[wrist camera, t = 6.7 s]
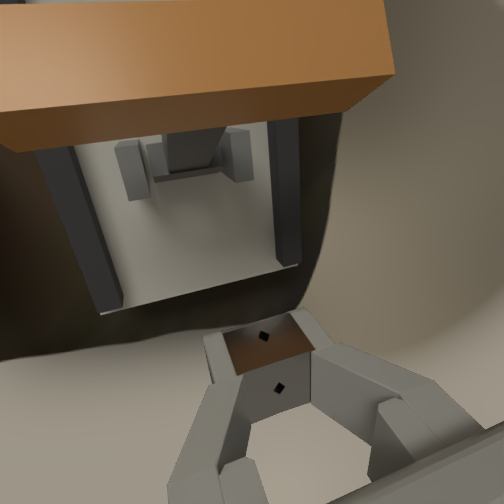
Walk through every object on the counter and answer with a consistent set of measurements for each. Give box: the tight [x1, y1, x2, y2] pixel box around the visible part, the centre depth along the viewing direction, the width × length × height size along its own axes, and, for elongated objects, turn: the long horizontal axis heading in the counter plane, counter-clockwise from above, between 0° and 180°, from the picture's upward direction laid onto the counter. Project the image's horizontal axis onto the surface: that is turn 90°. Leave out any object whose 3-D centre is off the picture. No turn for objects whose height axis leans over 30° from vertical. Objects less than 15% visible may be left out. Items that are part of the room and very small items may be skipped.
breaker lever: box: [0, 0, 395, 183], centre depth 12 cm, size 2×10×10 cm, turn 95°
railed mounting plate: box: [0, 0, 302, 314], centre depth 17 cm, size 16×13×1 cm
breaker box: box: [25, 0, 298, 315], centre depth 19 cm, size 18×14×10 cm
